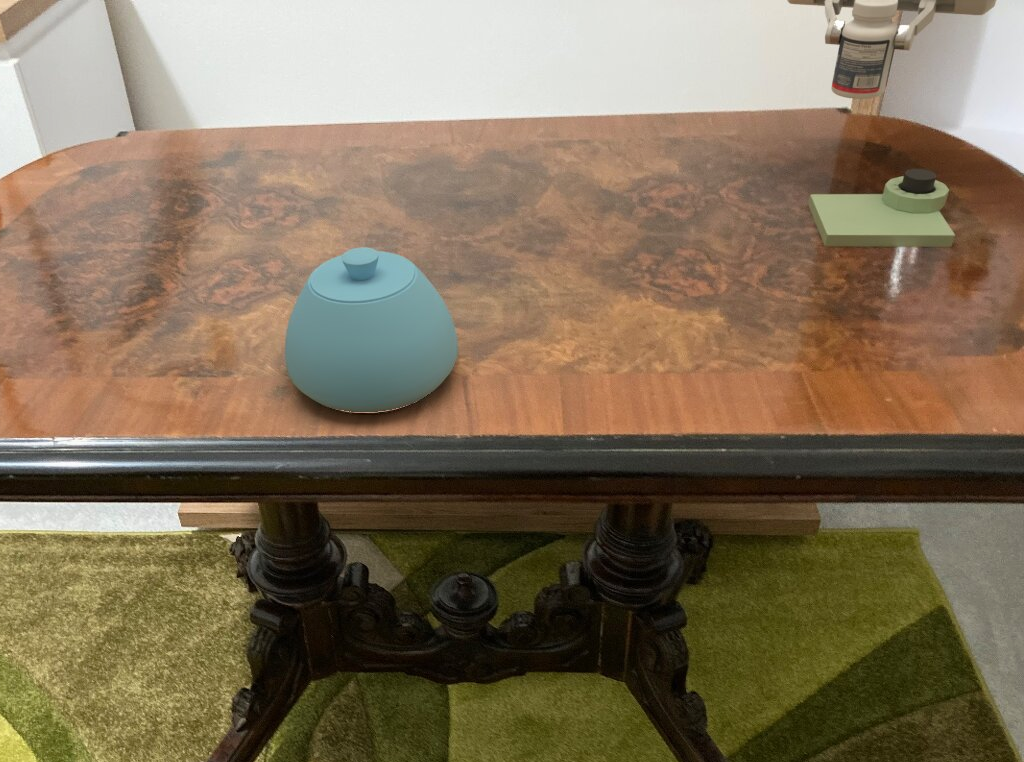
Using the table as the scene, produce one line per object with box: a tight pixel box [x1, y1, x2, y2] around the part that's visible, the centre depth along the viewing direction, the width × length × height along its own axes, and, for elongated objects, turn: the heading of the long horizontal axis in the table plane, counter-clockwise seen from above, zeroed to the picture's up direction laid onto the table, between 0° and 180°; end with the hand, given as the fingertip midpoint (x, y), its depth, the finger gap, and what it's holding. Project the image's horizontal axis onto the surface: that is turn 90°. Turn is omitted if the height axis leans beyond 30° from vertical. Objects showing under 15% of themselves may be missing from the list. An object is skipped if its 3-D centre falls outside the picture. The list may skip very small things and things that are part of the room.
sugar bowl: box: [284, 246, 459, 412], centre depth 78 cm, size 15×15×12 cm
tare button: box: [901, 168, 937, 194], centre depth 96 cm, size 3×3×2 cm
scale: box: [807, 175, 956, 248], centre depth 96 cm, size 13×11×3 cm
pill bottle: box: [831, 0, 899, 100], centre depth 94 cm, size 5×5×9 cm
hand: (866, 44), depth 93 cm, fingers closed on pill bottle, 5 cm apart
